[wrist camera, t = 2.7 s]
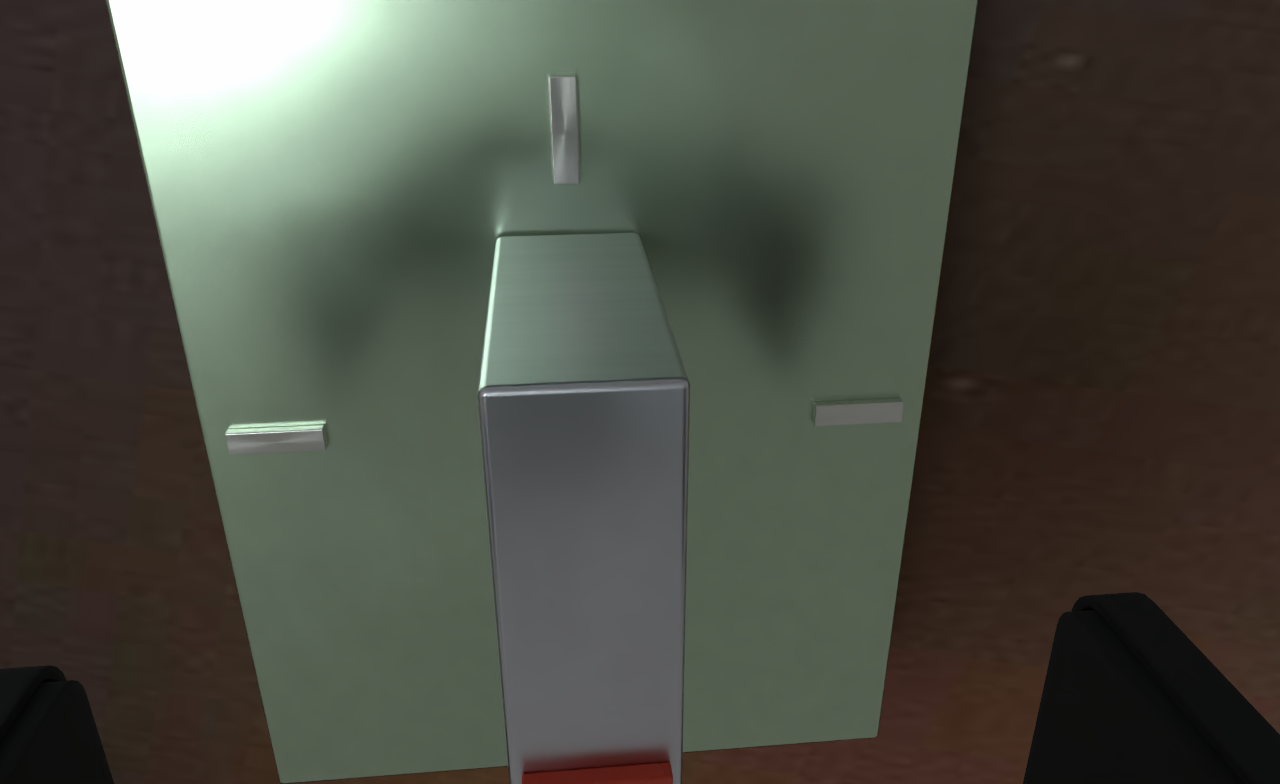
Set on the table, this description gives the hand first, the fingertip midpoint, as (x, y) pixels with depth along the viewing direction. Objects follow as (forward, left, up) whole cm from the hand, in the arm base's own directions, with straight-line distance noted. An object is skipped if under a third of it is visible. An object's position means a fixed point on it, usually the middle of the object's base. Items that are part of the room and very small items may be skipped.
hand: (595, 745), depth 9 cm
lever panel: (0, 0, -9) cm, 9 cm away
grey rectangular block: (0, 0, -6) cm, 6 cm away
